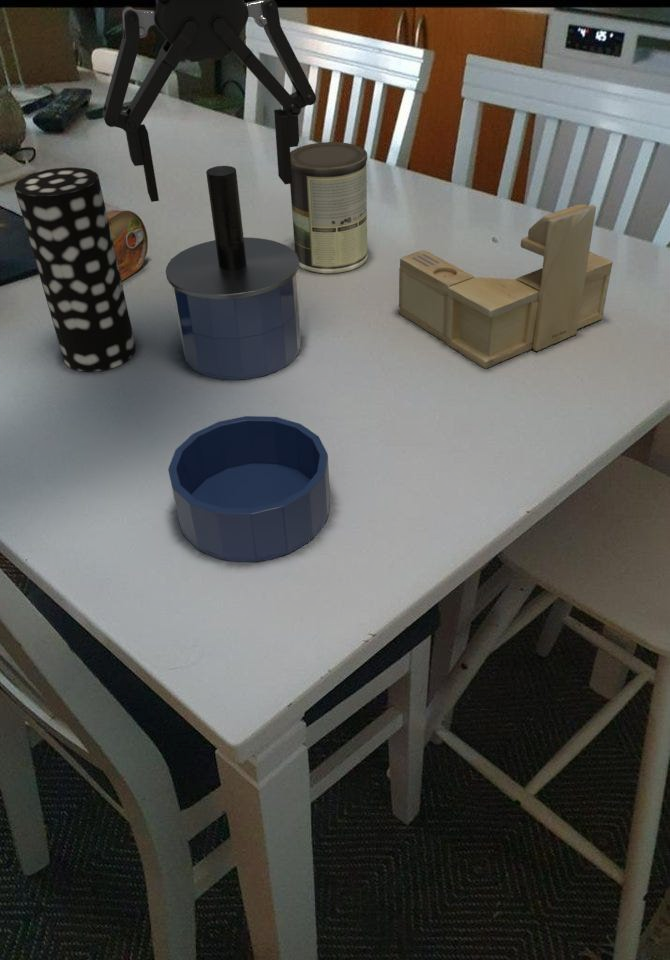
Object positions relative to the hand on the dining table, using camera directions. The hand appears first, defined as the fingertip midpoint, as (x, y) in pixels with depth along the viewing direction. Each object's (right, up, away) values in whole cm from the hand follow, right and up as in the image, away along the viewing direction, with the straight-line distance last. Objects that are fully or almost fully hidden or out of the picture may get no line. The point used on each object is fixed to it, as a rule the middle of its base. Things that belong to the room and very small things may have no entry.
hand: (220, 188), depth 82 cm
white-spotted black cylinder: (-16, -15, +13) cm, 25 cm away
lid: (+1, -7, +6) cm, 9 cm away
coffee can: (+11, +1, +31) cm, 33 cm away
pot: (+1, -14, +12) cm, 19 cm away
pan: (+4, -32, -10) cm, 34 cm away
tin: (-19, -3, +27) cm, 33 cm away
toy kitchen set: (+32, -10, +16) cm, 37 cm away
